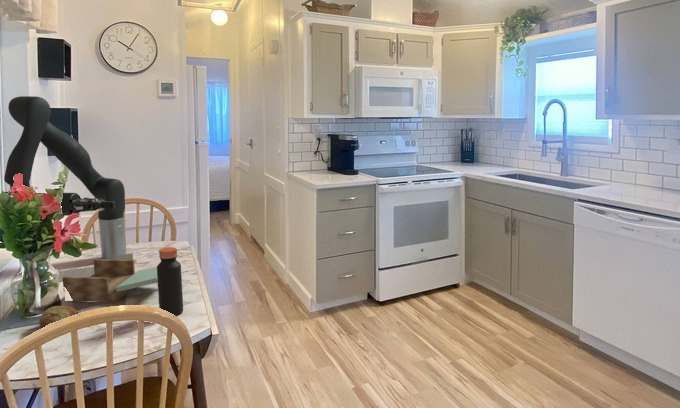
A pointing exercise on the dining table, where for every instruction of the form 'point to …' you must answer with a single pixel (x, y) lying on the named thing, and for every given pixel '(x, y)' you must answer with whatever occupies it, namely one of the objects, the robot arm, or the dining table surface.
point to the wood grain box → (101, 281)
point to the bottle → (169, 281)
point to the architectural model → (126, 257)
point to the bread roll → (56, 314)
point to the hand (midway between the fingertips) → (114, 205)
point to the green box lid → (139, 279)
